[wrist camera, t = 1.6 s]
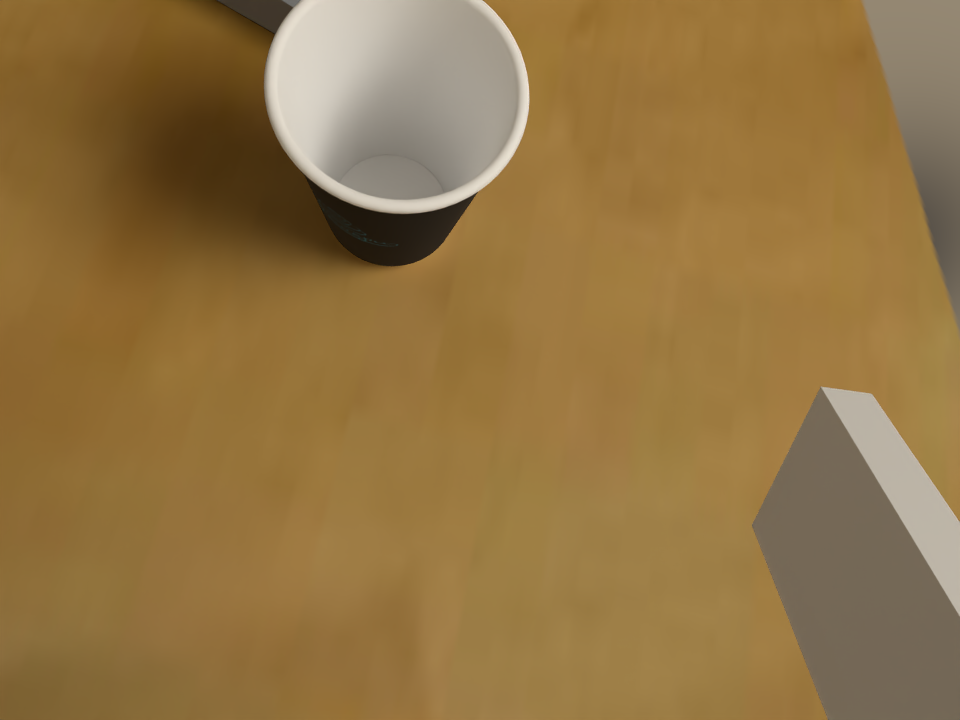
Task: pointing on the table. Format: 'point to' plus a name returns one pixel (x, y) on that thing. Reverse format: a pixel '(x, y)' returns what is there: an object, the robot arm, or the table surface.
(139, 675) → the table surface
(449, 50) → the dixie cup
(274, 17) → the plinth
